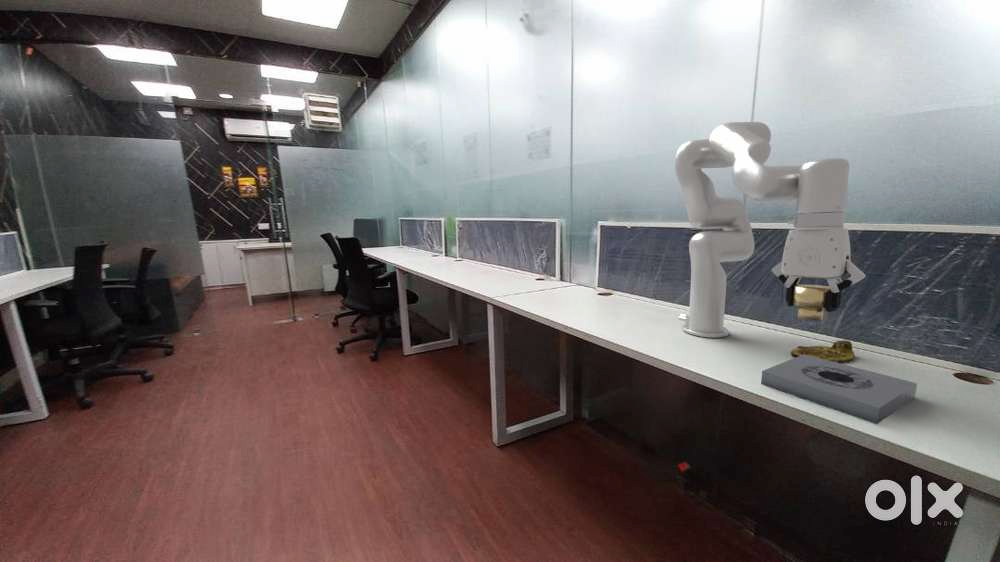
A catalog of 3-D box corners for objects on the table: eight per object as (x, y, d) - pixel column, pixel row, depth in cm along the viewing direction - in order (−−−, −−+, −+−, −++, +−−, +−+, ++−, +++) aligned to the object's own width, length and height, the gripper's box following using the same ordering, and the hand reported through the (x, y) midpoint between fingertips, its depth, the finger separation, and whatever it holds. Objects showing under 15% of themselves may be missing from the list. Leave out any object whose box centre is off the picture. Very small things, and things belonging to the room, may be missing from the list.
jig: (761, 383, 77) (762, 370, 76) (802, 366, 85) (804, 354, 84) (877, 424, 61) (879, 408, 60) (914, 397, 69) (917, 383, 68)
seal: (809, 370, 86) (868, 366, 86) (813, 352, 85) (873, 348, 85) (778, 351, 95) (832, 348, 95) (781, 335, 94) (836, 332, 94)
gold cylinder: (786, 317, 77) (788, 286, 76) (800, 313, 80) (803, 283, 79) (820, 323, 72) (823, 290, 71) (834, 319, 74) (838, 287, 73)
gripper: (762, 224, 79) (756, 303, 81) (868, 220, 64) (858, 318, 66) (780, 223, 82) (774, 299, 85) (885, 220, 67) (875, 313, 69)
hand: (811, 307), depth 75 cm, fingers closed on gold cylinder, 6 cm apart
